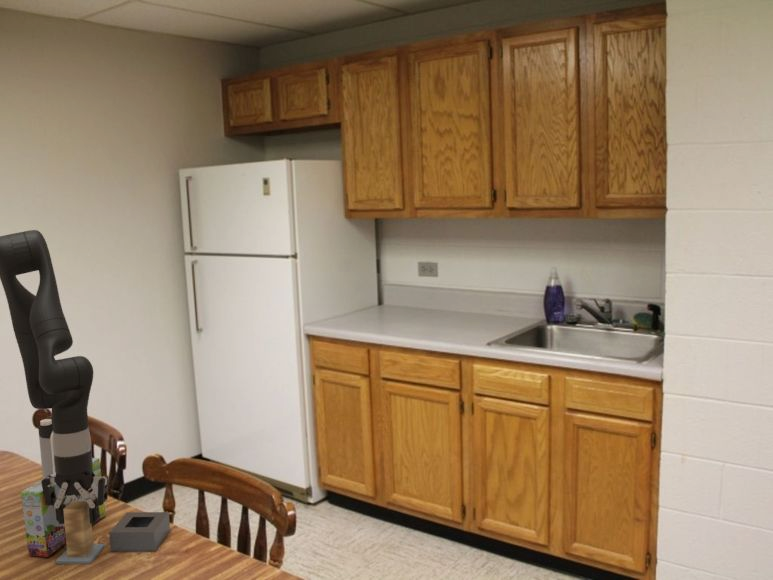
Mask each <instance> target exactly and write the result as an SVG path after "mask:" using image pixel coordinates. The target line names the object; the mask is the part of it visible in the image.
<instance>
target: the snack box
mask: <svg viewBox="0 0 773 580" xmlns="http://www.w3.org/2000/svg"><path fill="white" fill-rule="evenodd" d="M92 462H93V473H94V474H95V476H101V477H102V470H101V461H100V457H92ZM50 476H52V477H54V476H56V472H55V473H54V474H52V475H50ZM42 480H43V479H41V480H40V481H37V482H35V483H34V484H31V486H29V487H27V488H25V489H23V490H22V491H20V495H21V496H20V497H21V503H22V510H23V520H24V526H25V533H26V534H25V535H26V542H27V550H28V552H27V553H28V556H35V557H45V558H48V557H50V556H51V555H53V553H55V552H57V551H58V550H59V549H60V548H61V547H63V546H65V545H66V534H65V523H64V524H59V521H57V520H56V509H55V507H54V506H51V505H50V506H47V505H46V503H45V498H44V493H43V488H42V483H41V481H42ZM92 486H93V488H94V489H95V493H96V495H97V497H98V487H96V483H95V482H93V483H92ZM54 489H55V494H56V498H57V496H58V494H59V491H60V488H59V486H58V485H57V484H56V483H55V485H54ZM87 493H88V491H87ZM72 501H86V500H84V499H83V498H82V496H77V495H71V496H67V498H66V500H65V502H64V504H66V506H67V505H69V504H70V503H71V502H72ZM105 504H106V503H105V502H104V503H103V505H101V506H100V505H99V515H100V517H99V519H98V520H97V521H96V522H95V524H96V523H97V522H98V521H100V520H101V519H103V518H104V517H106V516H107V514H106V505H105ZM93 525H94V524H92V526H93Z"/></svg>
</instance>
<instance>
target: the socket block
mask: <svg viewBox="0 0 773 580" xmlns="http://www.w3.org/2000/svg"><path fill="white" fill-rule="evenodd" d="M170 531H171V525H170V512H168V511H166V512H165V511H153V512H151V511H150V512H148V511H146V512H145V511H140V512H138V511H135V512H133V511H132V512H131V511H130V512H128V511H127V512H126V513H125V514H124V515H123V516H122V517H121V519H120V520H119V521H118V522H117V523H116V524H115V525H114V526H113V528H112V529H110V531H109V543H110V545H109V546H110V552H111V553H113V552H115V553H116V552H119V553H120V552H121V553H122V552H124V553H125V552H132V553H133V552H156V551H157V550H158V548H159V547H160V546H161V544H162V543H163V541H164V540H165V538H166V537H167V535H168V534H169V533H170ZM163 539H164V540H163Z"/></svg>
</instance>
